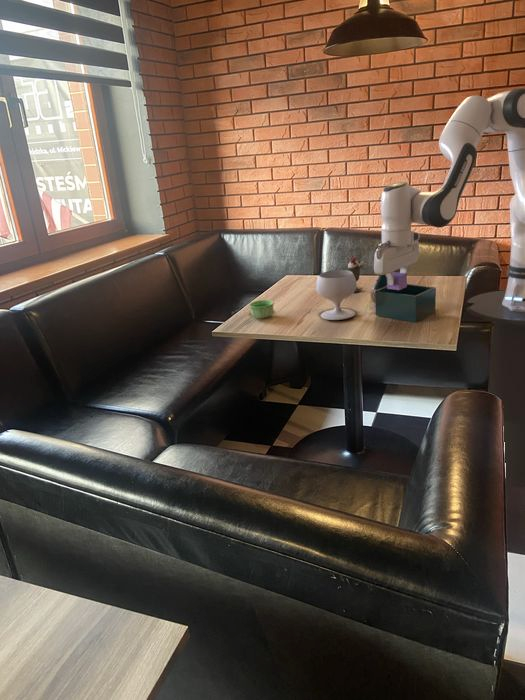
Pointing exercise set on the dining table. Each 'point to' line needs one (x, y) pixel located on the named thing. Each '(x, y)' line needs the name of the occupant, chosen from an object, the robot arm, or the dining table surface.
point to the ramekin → (261, 308)
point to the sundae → (355, 269)
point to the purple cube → (398, 281)
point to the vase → (373, 292)
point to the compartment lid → (383, 280)
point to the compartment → (406, 302)
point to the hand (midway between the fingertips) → (397, 282)
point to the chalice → (336, 292)
